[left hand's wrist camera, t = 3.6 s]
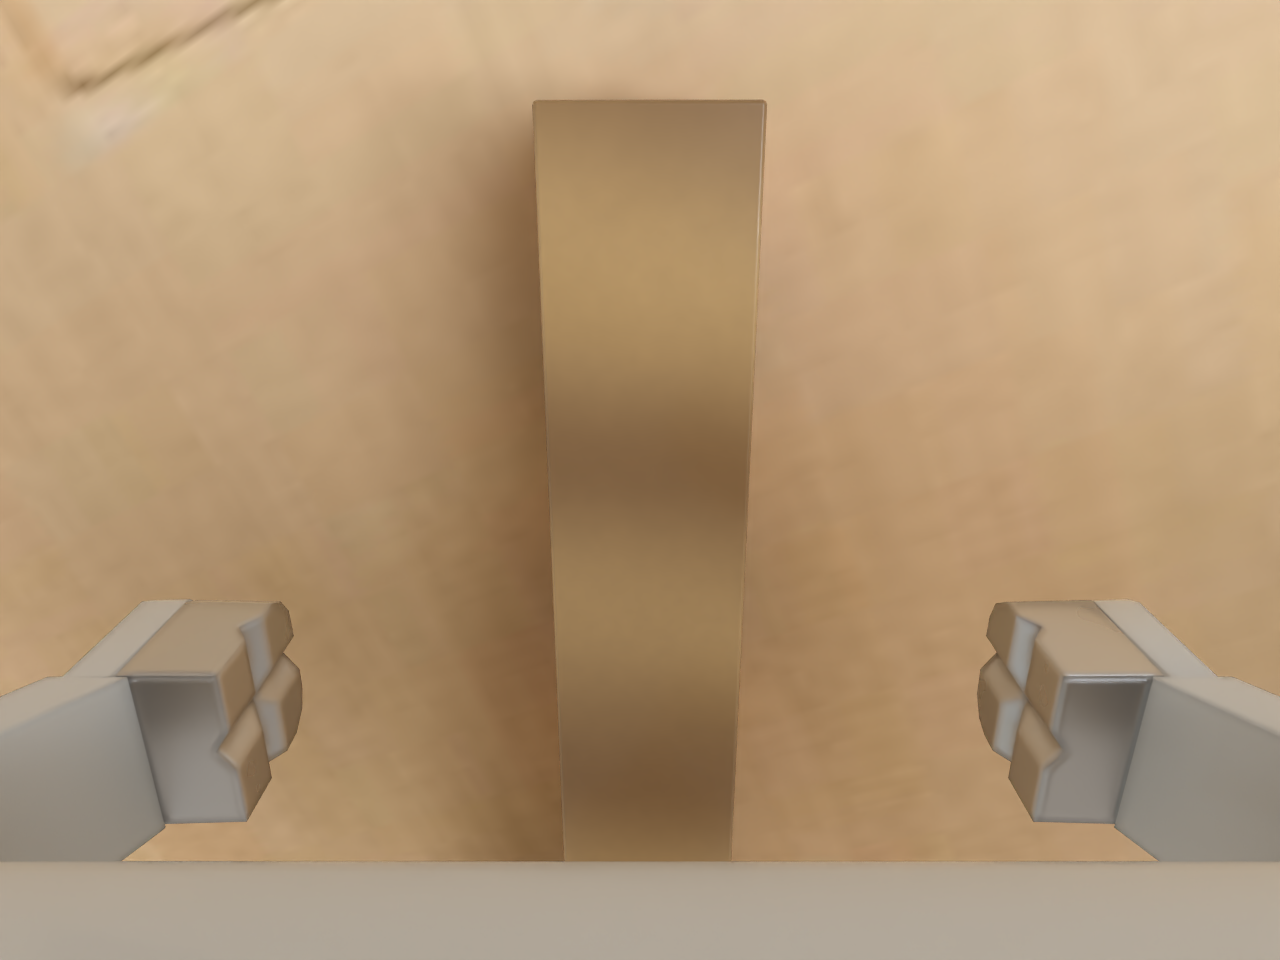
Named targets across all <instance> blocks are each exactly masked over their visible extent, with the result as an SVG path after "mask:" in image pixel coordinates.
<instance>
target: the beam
mask: <svg viewBox="0 0 1280 960" xmlns="http://www.w3.org/2000/svg"><path fill="white" fill-rule="evenodd" d="M532 110H533V134H534V157H535V181H536V205H537V229H538V253H539V276H540V300H541V324H542V348H543V372H544V395H545V419H546V443H547V467H548V491H549V514H550V538H551V562H552V586H553V610H554V633H555V657H556V681H557V705H558V729H559V752H560V776H561V800H562V824H563V848H564V861H731V853H732V832H733V811H734V790H735V769H736V748H737V727H738V706H739V684H740V663H741V642H742V621H743V600H744V579H745V558H746V537H747V516H748V495H749V474H750V453H751V431H752V410H753V389H754V368H755V347H756V326H757V305H758V284H759V263H760V242H761V221H762V200H763V178H764V157H765V136H766V115H767V103H766V101H764V100H536V101H534V102H533V105H532Z"/></svg>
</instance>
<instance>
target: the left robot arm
mask: <svg viewBox="0 0 1280 960" xmlns="http://www.w3.org/2000/svg"><path fill="white" fill-rule="evenodd" d="M293 636H294V635H293V630H292V625H291V620H290V615H289V611H288V609H287V608H286V607H285V606H284V605H283V604H282V603H281V602H272V601H219V600H195V601H193V600H191V599H177V600H151V601H143V602H141V603H140V604H139V605H138V606H137V607H136V608H135V609H134V610H132V611H131V612H130V613H129V614H128V615H127V616H126V617H125V618H124V619H123V620H122V621H121V622H120V623H119V624H118V625H117V626H116V627H114V628H113V629H112V630H111V631H110V632H109V633H108V634H107V635H106V636H105V637H104V638H103V639H102V640H101V641H100V642H99V643H97V644H96V645H95V646H94V647H93V648H92V649H91V650H90V651H89V652H88V653H87V654H86V655H85V656H84V657H83V658H82V659H81V660H79V661H78V662H77V663H76V664H75V665H74V666H73V667H72V668H71V669H70V670H69V671H68V672H67V673H66V674H65V675H64V676H63V677H46V678H44V679H41V680H39V681H36V682H34V683H32V684H29V685H27V686H24V687H22V688H20V689H17V690H15V691H12V692H10V693H8V694H5V695H3V696H0V960H1280V697H1279V696H1277V695H1275V694H1272V693H1270V692H1267V691H1265V690H1263V689H1260V688H1258V687H1256V686H1253V685H1251V684H1248V683H1246V682H1244V681H1241V680H1239V679H1236V678H1234V677H1217V676H1216V675H1215V674H1214V673H1213V672H1212V671H1211V670H1210V669H1209V668H1208V667H1207V666H1206V665H1205V664H1204V663H1203V662H1202V661H1201V660H1200V659H1198V658H1197V657H1196V656H1195V655H1194V654H1193V653H1192V652H1191V651H1190V650H1189V649H1188V648H1187V647H1186V646H1185V645H1184V644H1183V643H1182V642H1181V641H1179V640H1178V639H1177V638H1176V637H1175V636H1174V635H1173V634H1172V633H1171V632H1170V631H1169V630H1168V629H1167V628H1166V627H1165V626H1164V625H1163V624H1162V623H1160V622H1159V621H1158V620H1157V619H1156V618H1155V617H1154V616H1153V615H1152V614H1151V613H1150V612H1149V611H1148V610H1147V609H1146V608H1145V607H1144V606H1143V605H1141V604H1140V603H1139V602H1136V601H1133V600H1130V599H1115V600H1074V601H1032V602H1004V603H997V604H995V606H994V609H993V611H992V613H991V615H990V618H989V624H988V629H987V634H986V636H987V638H988V639H989V641H990V642H991V644H992V646H993V647H994V649H995V650H996V652H997V653H996V654H995V655H994V656H993V657H992V658H991V659H990V660H989V661H988V662H987V663H986V664H985V665H984V666H983V667H982V668H981V670H980V677H979V685H978V692H977V697H978V709H979V719H980V722H981V725H982V728H983V732H984V735H985V737H986V739H987V740H988V742H989V744H990V746H991V748H992V750H993V751H995V752H996V753H998V754H999V755H1001V756H1002V757H1004V758H1006V759H1007V760H1009V761H1010V762H1011V766H1010V771H1009V777H1008V778H1009V780H1010V782H1011V784H1012V785H1013V787H1014V789H1015V790H1016V792H1017V794H1018V796H1019V797H1020V799H1021V801H1022V803H1023V804H1024V806H1025V808H1026V810H1027V811H1028V813H1029V815H1030V817H1031V818H1032V820H1033V822H1066V823H1103V824H1115V826H1114V827H1115V828H1116V829H1117V830H1118V831H1120V832H1121V833H1122V834H1124V835H1125V836H1126V837H1128V838H1129V839H1130V840H1132V841H1133V842H1134V843H1136V844H1137V845H1138V846H1140V847H1141V848H1142V849H1144V850H1145V851H1146V852H1148V853H1149V854H1150V855H1151V856H1153V857H1154V858H1155V859H1157V860H1158V861H122V860H123V859H125V858H126V857H127V856H129V855H130V854H131V853H133V852H134V851H135V850H137V849H138V848H139V847H141V846H142V845H143V844H145V843H146V842H147V841H149V840H150V839H151V838H153V837H154V836H155V835H157V834H158V833H159V832H161V831H162V830H163V829H164V828H165V824H177V823H213V822H247V820H248V819H249V817H250V815H251V813H252V812H253V810H254V808H255V806H256V805H257V803H258V801H259V799H260V798H261V796H262V794H263V792H264V791H265V789H266V787H267V785H268V784H269V782H270V780H271V778H272V777H271V771H270V766H269V762H270V761H271V760H273V759H274V758H276V757H278V756H279V755H281V754H282V753H284V752H285V751H287V750H288V748H289V746H290V744H291V742H292V740H293V738H294V737H295V735H296V733H297V729H298V724H299V720H300V716H301V711H302V683H301V676H300V670H299V668H298V667H297V666H296V665H295V664H294V663H293V662H292V661H291V660H290V659H289V658H288V657H287V656H286V655H285V654H284V653H283V652H284V650H285V649H286V647H287V646H288V644H289V642H290V641H291V639H292V638H293Z"/></svg>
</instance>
